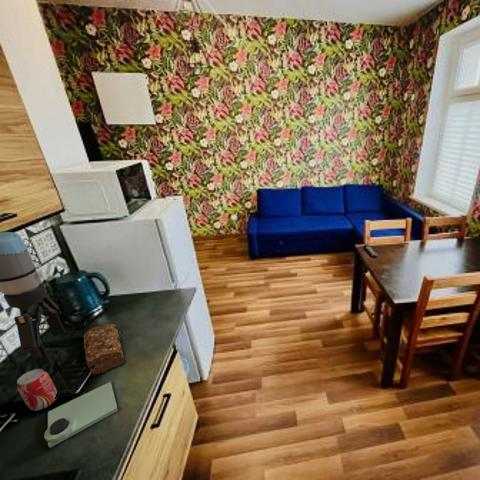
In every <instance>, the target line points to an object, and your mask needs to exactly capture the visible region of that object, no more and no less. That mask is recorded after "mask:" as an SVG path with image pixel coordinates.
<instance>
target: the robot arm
mask: <svg viewBox="0 0 480 480" xmlns="http://www.w3.org/2000/svg"><path fill="white" fill-rule="evenodd" d="M41 277H42V274H41V273H39V272H38V271H37V268H36V266H35V264H34V262H33V260H32V257H31V255H30V252H29V251H28V246H27V245H26V244H25V241H23V238H22V237H21V235H20V234H19V233H17V232H12V231H2V232H0V293H1V294H2V295H3V298H4V300H5V301H6V304H7V306H9V308H12V309H17V310H18V309H19V315H18V316H17V315H16V316H14V317H13V320H14V322H15V325H16V328H17V334H18V339H19V344H20V349H21V353H22V354H28V353H29V354H30V355H31V358H32V359H33V361H34V363H35V365H36V367H37V368H40V367H43V366H46V365H50V364H52V360H51V358H50V356H49V353H48V352H47V350H46V347H45V345H44V344H43V343H41V335H40V333H41V332H40V323H41V322H42V316H43V317H46V318H45V321H46V323H47V325H48V328H49V329H50V331H51V334H52V335H53V337H55V336H59V335H63V334H66V330H65V327H64V325H63V323H62V320H61V319H60V317H59V316H60V315H61V314H62V311H61V310H60V307H59V305H58V304H56V302H55V301H54V300H53V299H52V298H51V297H50V296H49V295H48V292H47V290H46V287H45V285H44V284H43V283H42V279H41Z"/></svg>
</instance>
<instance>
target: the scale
mask: <svg viewBox="0 0 480 480" xmlns="http://www.w3.org/2000/svg"><path fill="white" fill-rule="evenodd" d="M118 411H119V410H118V406H117V401H116V398H115V393H114V389H113V385H112V381H109V382H107V383H105V384H102V385H101V386H99V387H97V388H94V389H92V390H90V391H88V392H86V393H84V394H82V395H80V396H78V397H76V398H73V399H72V400H69V401H68V402H66V403H63V404H61V405H59V406H57V407H55V408H52V409H51V410H49V411H47V429H46V430H45V432H44V437H43V438H44V440H45V441H46V442H47V446H48V448H49V449H51V448H53V447H54V446H57V445H58V444H60V443H62V442H64V441H66V440H67V439H69V438H71V437H73V436H74V435H77V434H79V433H80V432H82V431H84V430H86V429H87V428H89V427H91V426H93V425H95V424H96V423H99V422H100V421H103V420H104V419H106V418H107V417H109V416H111V415H112V414H113V415H114V413H116V412H118ZM61 418H65V419H66V420H67V422H68V427H67V428H66V429H65V430H64V431H63V432H61V433H59V434H56V435H53V434H52V433H51V431H50V426H51V425H52V424H53V423H54V422H55V421H57V420H59V419H61Z"/></svg>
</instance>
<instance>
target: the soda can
mask: <svg viewBox="0 0 480 480" xmlns="http://www.w3.org/2000/svg"><path fill="white" fill-rule="evenodd" d="M16 384H17V386H16V389H17V392H18V393H19V396H20V397H21V398H22V400H23V402H24V403H25V406H26V407H27V408H28V409H29V410H30V411H32V412H35V411H36V412H37V411H41V410H43V409H46V408H48V407H49V406H50V405H52V404H53V403H54V402H55V401H56V400H57V399H58V397H57V398H56V399H55V397H56V394H57V392H58V390H57V388H56V386H55V384H54V382H53V380H52V378H51V376H50V375H49V373H48V372H47V371H45V370H44V369H42V368H35V369H32V370H29V371H27V372H25V373H23V374H22V375H20V377H19V378H18V379H17V380H16Z"/></svg>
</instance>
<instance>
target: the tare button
mask: <svg viewBox="0 0 480 480" xmlns="http://www.w3.org/2000/svg"><path fill="white" fill-rule="evenodd" d="M67 427H68V422H67V420H66V419H65V418H61V419H59V420H57V421H55V422H54V423H53V424H52V425H51V426H50V431H51V433H52V434H53V435H56V434H59V433H61V432H63V431H64V430H65V429H66V428H67Z"/></svg>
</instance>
